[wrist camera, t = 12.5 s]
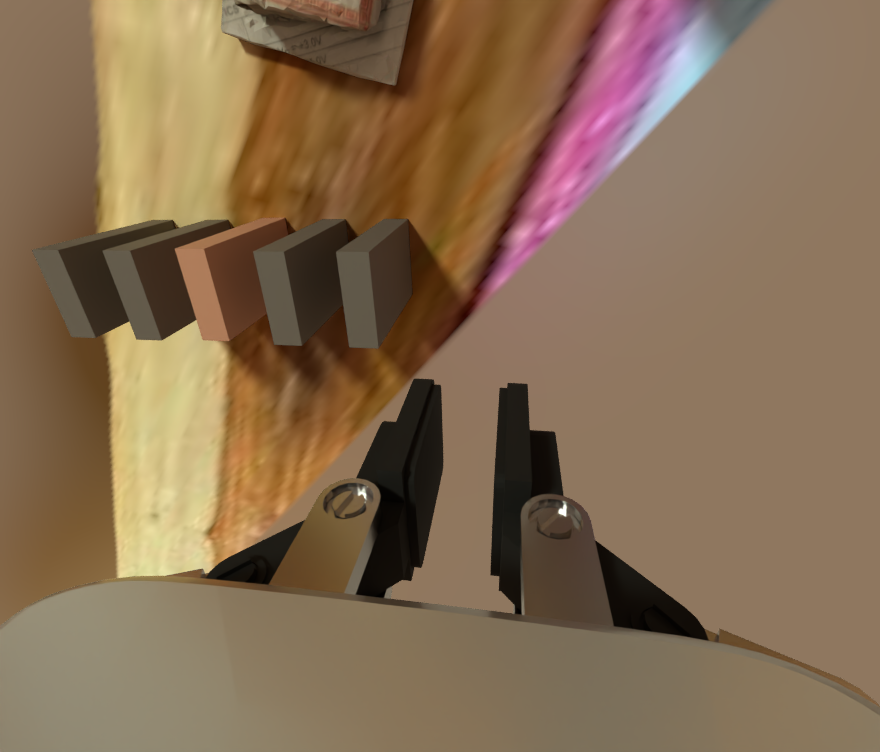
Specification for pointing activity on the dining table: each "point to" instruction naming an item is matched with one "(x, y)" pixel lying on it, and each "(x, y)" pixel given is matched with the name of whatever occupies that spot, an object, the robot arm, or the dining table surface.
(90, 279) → the domino
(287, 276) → the domino
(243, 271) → the domino
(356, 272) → the domino
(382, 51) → the packaged product
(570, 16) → the dining table surface
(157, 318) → the domino
